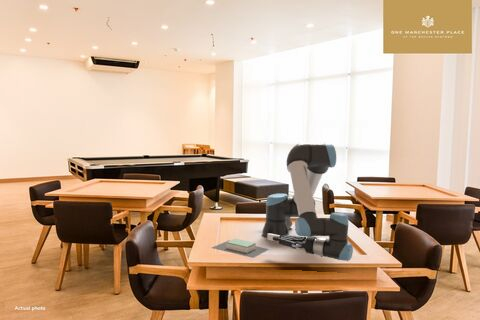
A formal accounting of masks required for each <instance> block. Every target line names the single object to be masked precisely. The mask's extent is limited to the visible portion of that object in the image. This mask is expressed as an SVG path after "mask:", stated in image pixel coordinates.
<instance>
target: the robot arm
mask: <svg viewBox="0 0 480 320" xmlns="http://www.w3.org/2000/svg"><path fill="white" fill-rule="evenodd" d="M336 165H337V151H336V147H335V146H334V145H333V144H332V143H326V142H323V143H322V142H320V143H318V142H300V143H297V144H296V145H294V146H293V147H292V148H291V149H290V150H289V153H288V154H287V157H286V169H287V171H288V173H290V178H291V184H292V187H293V188H292V189H293V196H288V194H287V193H273V194H270V195H268V196H267V197H266V203H265V205H266V207H265V222H264V226H263V228H262V232H261V235H262V236H263V237H265V238H266V239H267V240H268V241H272V242H273V241H274V242H276V243H277V242H278V244H279V245H282V246H285V247H289V248H291V249H294V250H296V249H297V248H298V249H304V250H305V253H306V254H311V255H316V256H319V257H321V258H324V257H325V258H328V259H329V258H330V259H333V260H337V261H342V262H343V261H345V262H349V261H350V260H351V259H352V258H353V253H354V247H353V244H352V243H351V242H348V236H349V235H348V233H349V216H348V214H346V213H342V212H331V213H330V214H329V217H318V215H317V211H316V201H315V198H314V195H315V193H316V191H317V188H318V186H319V183H320V181H321V179H322V176H323V175H324V174H326V173H327V172H328V170H329V169H330V168H335V166H336ZM287 217H290V218H296V219H295V221H294V228H295V229H294V231H295V233H296V235H290V231H289V229H288V227H287V223H286V219H287ZM323 237H328V238H323Z"/></svg>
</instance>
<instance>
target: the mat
mask: <svg viewBox="0 0 480 320" xmlns="http://www.w3.org/2000/svg"><path fill="white" fill-rule="evenodd" d="M228 241H231V240H227V241H224V242H222V243H219V244H217V245H214V246H212V247H211V249H214V250H215V249H216V250H218V251H221V252H222V251H223V252H226V253H227V252H228V253H232V254H236V255H240V256H244V257H249V258H252V259H254V258H257V257H258V256H260V255H262V254H264V253H265V252H267V251H269V250H270V248H266V247H263V246H257V245H256V249H254V250H252V251H250V252H248V253H245V252H241V251H237V250H232V249H228V248H226V246H227V242H228Z"/></svg>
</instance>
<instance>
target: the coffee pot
mask: <svg viewBox="0 0 480 320" xmlns="http://www.w3.org/2000/svg"><path fill="white" fill-rule="evenodd" d="M260 205H261V206H263V207H265V208H266V204H264V203H262V202H259V204H258V206H260ZM286 223H287V227H288V230H289V229H290V228H291V227H292V226H293V221H292V217H287V219H286Z"/></svg>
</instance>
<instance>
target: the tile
mask: <svg viewBox="0 0 480 320" xmlns="http://www.w3.org/2000/svg"><path fill="white" fill-rule="evenodd" d="M227 241H228V242H227V246H226V248H228V249H232V250H237V251H241V252H245V253H248V252H250V251H252V250H254V249H256V246H257V243H256V242H253V241H248V240H244V239H239V238H233V239H231V240H230V241H229V240H227Z"/></svg>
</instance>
